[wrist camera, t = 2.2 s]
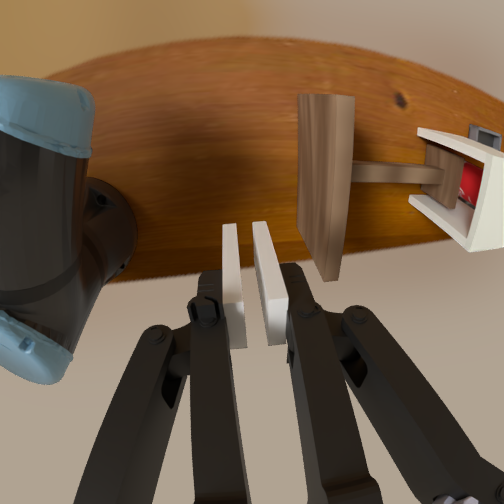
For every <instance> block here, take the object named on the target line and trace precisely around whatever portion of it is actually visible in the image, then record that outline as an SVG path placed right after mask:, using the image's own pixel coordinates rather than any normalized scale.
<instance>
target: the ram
mask: <svg viewBox="0 0 504 504" xmlns="http://www.w3.org/2000/svg"><path fill="white" fill-rule="evenodd" d="M354 112H355V97H354V96H345V95H331V94H298V198H297V228H298V230H299V232H300V234H301V236H302V238H303V240H304V242H305V244H306V246H307V248H308V250H309V252H310V254H311V256H312V258H313V260H314V262H315V264H316V266H317V269H318V271H319V273H320V275H321V277H322V279H323V281H324V282H329V281H338V278H339V272H340V265H341V259H342V253H343V246H344V238H345V231H346V223H347V214H348V205H349V195H350V185H351V182H392V183H421V184H422V185H421V190H423V191H424V192H426V193H427V194H429V195H430V196H432V197H433V198H435V199H436V200H437V201H439V202H440V203H442V204H443V205H445V206H446V207H447V208H449V209H455V207H456V203H457V198H458V194H459V189H460V184H461V179H462V173H463V167H464V161H465V158H463V157H460V156H458V155H456V154H454V153H451V152H449V151H447V150H444V149H442V148H439V147H437V146H435V145H431V144H427V149H426V158H425V165H421V164H410V163H396V162H378V161H352V158H353V141H354Z"/></svg>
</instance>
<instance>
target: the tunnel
mask: <svg viewBox="0 0 504 504" xmlns="http://www.w3.org/2000/svg"><path fill="white" fill-rule="evenodd" d="M417 135H418V136H420V137H423V138H426V139H429V140H431V141H434V142H437V143H439V144H442V145H444V146H447V147H449V148H452V149H454V150H457V151H459V152H461V153H464V154H466V155H468V156H470V157H473V158H475V159H477V160H479V161H481V162H483V163H485V165H484V171H483V176H482V182H481V186H480V191H479V196H478V200H477V204H476V208H475V210H474V209H472V208H471V207H469V206H468V205H467V204H465V203H464V202H462V201H461V200H459V199H458V198H457V203H456V207H455V209H449V208H447V207H446V206H445V205H443V204H442V203H440V202H439V201H437V200H436V199H435V198H433V197H432V196H430V195H410V196H409V203H410V204H411V205H413V206H414V207H415V208H417V209H418V210H419V211H421V212H422V213H423V214H424V215H426V216H427V217H428V218H429V219H431V220H432V221H433V222H434V223H435V224H437V225H438V226H439V227H440V228H441V229H443V230H444V231H445V232H446V233H447V234H449V235H450V236H451V237H452V238H453V239H454V240H455V241H457V242H458V243H459V244H460V245H461V246H462V247H463V248H464V249H465V250H466V251H468V252H477V251H483V250H490V249H496V248H502V247H504V153H502V152H500V151H498V150H495V149H493V148H491V147H488V146H486V145H484V144H481V143H479V142H476V141H474V140H471V139H468V138H466V137H463V136H459V135H454V134H450V133H445V132H441V131H436V130H430V129H425V128H419V127H418V132H417Z"/></svg>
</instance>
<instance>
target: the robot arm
mask: <svg viewBox="0 0 504 504" xmlns="http://www.w3.org/2000/svg"><path fill="white" fill-rule="evenodd" d="M94 116H95V102H94V99H93V96H92V95H91V93H90V92H89V91H88V90H86V89H85V88H83V87H81V86H77V85H73V84H69V83H64V82H58V81H52V80H46V79H39V78H31V77H23V76H11V75H0V365H1V366H2V367H4V368H5V369H7V370H8V371H10V372H12V373H13V374H15V375H17V376H19V377H21V378H23V379H26V380H28V381H31V382H34V383H38V384H44V385H45V384H46V385H51V384H54V383H57V382H59V381H60V380H61V379H62V377H63V376H64V373H65V371H66V369H67V367H68V365H69V363H70V362H71V361H72V360H73V353H74V351H75V348H76V345H77V343H78V340H79V338H80V335H81V333H82V331H83V328H84V326H85V324H86V321H87V319H88V317H89V314H90V312H91V310H92V308H93V306H94V303H95V301H96V299H97V297H98V295H99V292H100V290H101V288H102V287H103V286H105V285H106V284H107V283H109V282H110V281H111V280H112V279H114V278H115V277H116V276H118V275H119V274H120V273H121V272H122V271H123V270H124V269H125V268H126V267H127V265H128V264H129V262H130V260H131V258H132V256H133V254H134V251H135V249H136V245H137V237H138V233H137V225H136V221H135V217H134V215H133V212H132V210H131V208H130V206H129V205H128V203H127V202H126V200H125V199H124V198H123V196H122V195H121V194H120V193H119V192H118V191H117V190H116V189H114V188H113V187H112V186H110V185H109V184H107V183H105V182H103V181H101V180H98V179H95V178H91V177H86V174H87V167H88V160H89V158H90V157H91V154H92V148H91V137H92V129H93V122H94ZM252 224H253V245H254V264H255V269H256V275H257V281H258V287H259V292H260V299H261V304H262V310H263V316H264V322H265V328H266V333H267V339H268V346H272V345H280V344H286V339H287V343H288V353H287V363H289V366H290V372H291V379H292V385H293V392H294V398H295V405H296V412H297V419H298V425H299V433H300V439H301V447H302V454H303V462H304V469H305V475H306V476H305V477H306V484H307V492H308V502H307V504H383V501H382V496H381V491H380V488H379V485H378V483H377V481H376V480H375V479H374V478H372V477H371V476H370V474H369V471H368V468H367V463H366V459H365V455H364V450H363V447H362V442H361V438H360V434H359V430H358V426H357V422H356V419H355V415H354V411H353V408H352V404H351V400H350V396H349V393H348V390H347V386H346V382H347V383H348V385H349V387H350V388H351V390H352V392H353V393H354V395H355V397H356V398H357V400H358V402H359V403H360V405H361V407H362V408H363V410H364V412H365V413H366V415H367V417H368V418H369V420H370V422H371V423H372V425H373V427H374V428H375V430H376V432H377V434H378V435H379V437H380V439H381V440H382V442H383V444H384V445H385V447H386V449H387V450H388V452H389V454H390V455H391V457H392V459H393V461H394V462H395V464H396V466H397V467H398V469H399V471H400V473H401V474H402V476H403V478H404V479H405V481H406V483H407V484H408V486H409V488H410V490H411V491H412V493H413V494H414V496H415V497H416V498H417V499H418V500H419V501H420V502H421V504H504V472H503V471H501V470H500V469H498V468H497V467H495V466H494V465H492V464H491V463H489V462H488V461H486V460H485V459H483V458H482V457H480V455H479V453H478V452H477V450H476V449H475V447H474V446H473V444H472V443H471V441H470V440H469V438H468V437H467V436H466V434H465V433H464V431H463V430H462V428H461V427H460V425H459V424H458V422H457V421H456V420H455V418H454V417H453V415H452V414H451V412H450V411H449V410H448V408H447V407H446V405H445V404H444V403H443V401H442V400H441V399H440V397H439V396H438V394H437V393H436V392H435V390H434V389H433V388H432V386H431V385H430V384H429V382H428V381H427V380H426V378H425V377H424V376H423V375H422V373H421V372H420V371H419V369H418V368H417V367H416V366H415V364H414V363H413V362H412V360H411V359H410V358H409V357H408V355H407V354H406V353H405V351H404V350H403V349H402V348H401V346H400V345H399V344H398V343H397V342H396V340H395V339H394V338H393V337H392V335H391V334H390V333H389V332H388V330H387V329H386V328H385V327H384V326H383V324H382V323H381V322H380V321H379V320H378V318H377V317H376V316H375V315H374V314H373V312H372V311H370V310H369V309H368V308H366V307H364V306H359V305H355V306H350V307H348V308H346V309H345V311H344V312H343V313H333V312H328V311H325V310H323V309H322V307H321V306H320V305H319V304H318V303H316V302H315V300H314V298H313V295H312V293H311V290H310V288H309V285H308V283H307V281H306V278H305V276H304V273H303V270H302V268H301V267H300V266H299V265H298V264H296V263H295V262H294V263H283V264H279V263H278V260H277V257H276V253H275V250H274V247H273V243H272V240H271V237H270V233H269V230H268V227H267V224H266V221H260V222H252ZM222 268H223V269H222V270H209V271H203V273H202V274H201V275H200V277H199V281H198V290H197V296H196V297H194V298H192V299H191V300H190V301H189V302H188V305H187V309H188V313H189V317H190V321H191V322H190V323H189V324H187V325H185V326H183V327H181V328H178V329H174V330H171V329H170V328H169V327H168V326H165V325H154V326H151V327H149V328H148V329H146V330H145V331H144V332H143V334H142V335H141V337H140V339H139V341H138V343H137V346H136V348H135V350H134V352H133V354H132V356H131V358H130V361H129V363H128V365H127V367H126V369H125V371H124V373H123V376H122V378H121V380H120V383H119V385H118V387H117V389H116V392H115V394H114V396H113V398H112V401H111V404H110V406H109V408H108V410H107V413H106V415H105V418H104V420H103V422H102V425H101V427H100V430H99V432H98V435H97V437H96V440H95V443H94V445H93V448H92V451H91V453H90V456H89V459H88V461H87V464H86V467H85V470H84V473H83V476H82V479H81V481H80V485H79V487H78V490H77V494H76V497H75V500H74V503H73V504H152V502H153V497H154V494H155V490H156V486H157V482H158V478H159V475H160V471H161V467H162V463H163V459H164V456H165V452H166V449H167V445H168V441H169V438H170V434H171V430H172V427H173V423H174V420H175V416H176V413H177V410H178V406H179V403H180V399H181V396H182V393H183V389H184V386H185V382H186V379H187V375H190V407H191V410H190V411H191V442H192V460H193V461H192V462H193V476H194V490H195V501H194V504H252V503H251V497H250V492H249V485H248V479H247V473H246V467H245V460H244V453H243V447H242V440H241V433H240V426H239V418H238V411H237V403H236V395H235V387H234V380H233V371H232V363H231V355H230V349H239V348H247V339H246V327H245V317H244V305H243V294H242V283H241V272H240V262H239V251H238V240H237V228H236V223H234V224H223V249H222ZM345 380H346V382H345Z"/></svg>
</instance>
